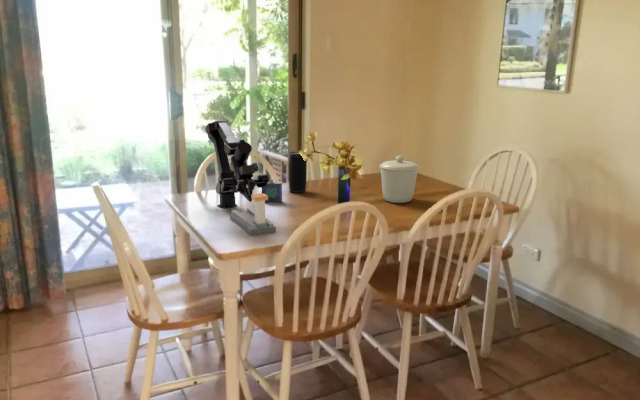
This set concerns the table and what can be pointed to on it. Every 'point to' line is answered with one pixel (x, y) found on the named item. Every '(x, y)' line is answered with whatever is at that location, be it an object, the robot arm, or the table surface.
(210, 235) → the table surface
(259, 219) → the slider handle
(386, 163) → the canister
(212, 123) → the robot arm
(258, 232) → the fader track
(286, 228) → the table surface
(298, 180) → the portable speaker
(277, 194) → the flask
